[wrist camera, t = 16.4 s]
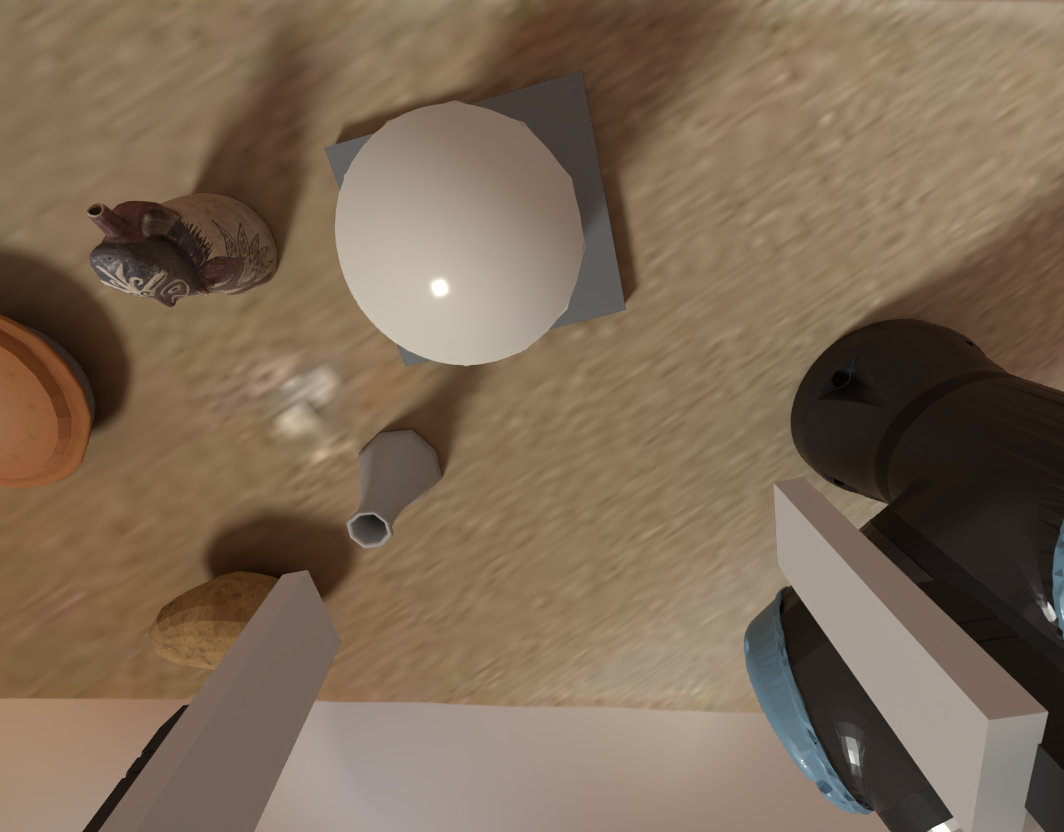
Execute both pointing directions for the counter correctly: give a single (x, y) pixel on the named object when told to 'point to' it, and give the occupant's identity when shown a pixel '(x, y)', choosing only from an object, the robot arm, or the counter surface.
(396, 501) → the flask
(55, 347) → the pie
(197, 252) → the figurine
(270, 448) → the counter surface
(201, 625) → the potato
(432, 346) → the white cylinder
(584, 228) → the slate board
